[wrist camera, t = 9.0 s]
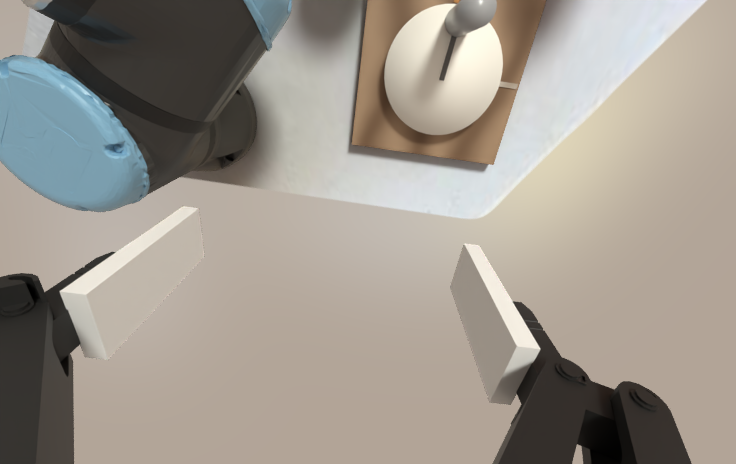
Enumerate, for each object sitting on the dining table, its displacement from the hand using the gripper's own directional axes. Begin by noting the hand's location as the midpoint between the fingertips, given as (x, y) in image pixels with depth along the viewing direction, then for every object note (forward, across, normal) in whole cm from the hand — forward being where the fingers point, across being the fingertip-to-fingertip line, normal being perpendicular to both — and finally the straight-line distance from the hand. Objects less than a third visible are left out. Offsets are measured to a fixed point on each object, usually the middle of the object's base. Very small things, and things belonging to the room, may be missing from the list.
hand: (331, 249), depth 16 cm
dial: (+30, -9, -9) cm, 33 cm away
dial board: (+32, -9, -9) cm, 34 cm away
